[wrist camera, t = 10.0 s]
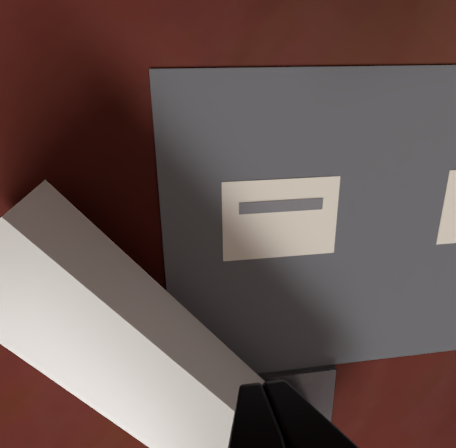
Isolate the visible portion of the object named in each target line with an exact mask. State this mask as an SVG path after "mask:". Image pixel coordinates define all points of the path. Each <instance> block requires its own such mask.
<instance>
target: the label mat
mask: <svg viewBox="0 0 456 448" xmlns="http://www.w3.org/2000/svg"><path fill="white" fill-rule="evenodd" d="M149 75H150V88H151V100H152V113H153V126H154V138H155V151H156V164H157V177H158V189H159V202H160V215H161V227H162V240H163V253H164V265H165V278H166V291H167V292H168V293H169V294H170V295H171V296H173V297H174V298H175V299H176V300H177V301H178V302H179V303H180V304H181V305H182V306H183V307H185V308H186V309H187V310H188V311H189V312H190V313H191V314H192V315H193V316H194V317H195V318H196V319H198V320H199V321H200V322H201V323H202V324H203V325H204V326H205V327H206V328H207V329H208V330H210V331H211V332H212V333H213V334H214V335H215V336H216V337H217V338H218V339H219V340H220V341H222V342H223V343H224V344H225V345H226V346H227V347H228V348H229V349H230V350H231V351H232V352H234V353H235V354H236V355H237V356H238V357H239V358H240V359H241V360H242V361H243V362H244V363H245V364H247V365H248V366H249V367H250V368H251V369H252V370H253V371H254V372H255V373H256V374H258V373H266V372H275V371H283V370H292V369H300V368H308V367H317V366H325V365H334V364H342V363H350V362H359V361H367V360H376V359H384V358H392V357H401V356H409V355H418V354H426V353H434V352H443V351H451V350H456V65H417V66H339V67H260V68H182V69H149Z"/></svg>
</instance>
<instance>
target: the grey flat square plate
mask: <svg viewBox="0 0 456 448" xmlns="http://www.w3.org/2000/svg"><path fill="white" fill-rule="evenodd" d="M257 375H259V376H260V377H261V378H262V379H263V380H264V381H265V382H266V381H273V380H285V381H286V382H288V383H289V384H290V385H291V386H292V387H293V388H294V389H295V390H296V391H297V392H298V393H300V394H301V395H302V396H303V397H304V398H305V399H306V400H307V401H308V402H309V403H311V404H312V405H313V406H314V407H315V408H316V409H317V410H318V411H319V412H320V413H321V414H323V415H324V416H325V417H326V418H327V419H328V420H329V421H330V422H331V418H332V408H333V398H334V388H335V378H336V368H335V367H334V365H325V366H317V367H308V368H300V369H292V370H283V371H275V372H266V373H258V374H257Z"/></svg>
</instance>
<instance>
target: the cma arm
mask: <svg viewBox="0 0 456 448" xmlns="http://www.w3.org/2000/svg"><path fill="white" fill-rule="evenodd" d="M0 344H1V345H3V346H4V347H6V348H7V349H9V350H10V351H11V352H13V353H14V354H16V355H17V356H19V357H20V358H22V359H23V360H24V361H26V362H27V363H29V364H30V365H32V366H33V367H34V368H36V369H37V370H39V371H40V372H42V373H43V374H44V375H46V376H47V377H49V378H50V379H52V380H53V381H55V382H56V383H57V384H59V385H60V386H62V387H63V388H65V389H66V390H67V391H69V392H70V393H72V394H73V395H75V396H76V397H78V398H79V399H80V400H82V401H83V402H85V403H86V404H88V405H89V406H90V407H92V408H93V409H95V410H96V411H98V412H99V413H100V414H102V415H103V416H105V417H106V418H108V419H109V420H111V421H112V422H113V423H115V424H116V425H118V426H119V427H121V428H122V429H123V430H125V431H126V432H128V433H129V434H131V435H132V436H133V437H135V438H136V439H138V440H139V441H141V442H142V443H144V444H145V445H146V446H148V447H149V448H228V444H229V438H230V433H231V428H232V422H233V417H234V412H235V406H236V401H237V396H238V390H239V387H240V385H242V384H249V383H257V382H258V383H261V384H263V383H264V382H265V381H264V380H263V379H262V378H261V377H260V376H259V375H257V374H256V373H255V372H254V371H253V370H252V369H251V368H250V367H249V366H248V365H247V364H245V363H244V362H243V361H242V360H241V359H240V358H239V357H238V356H237V355H236V354H235V353H234V352H232V351H231V350H230V349H229V348H228V347H227V346H226V345H225V344H224V343H223V342H222V341H220V340H219V339H218V338H217V337H216V336H215V335H214V334H213V333H212V332H211V331H210V330H208V329H207V328H206V327H205V326H204V325H203V324H202V323H201V322H200V321H199V320H198V319H196V318H195V317H194V316H193V315H192V314H191V313H190V312H189V311H188V310H187V309H186V308H185V307H183V306H182V305H181V304H180V303H179V302H178V301H177V300H176V299H175V298H174V297H173V296H171V295H170V294H169V293H168V292H167V291H166V290H165V289H164V288H163V287H162V286H161V285H159V284H158V283H157V282H156V281H155V280H154V279H153V278H152V277H151V276H150V275H149V274H148V273H146V272H145V271H144V270H143V269H142V268H141V267H140V266H139V265H138V264H137V263H136V262H134V261H133V260H132V259H131V258H130V257H129V256H128V255H127V254H126V253H125V252H124V251H122V250H121V249H120V248H119V247H118V246H117V245H116V244H115V243H114V242H113V241H112V240H110V239H109V238H108V237H107V236H106V235H105V234H104V233H103V232H102V231H101V230H100V229H99V228H97V227H96V226H95V225H94V224H93V223H92V222H91V221H90V220H89V219H88V218H87V217H85V216H84V215H83V214H82V213H81V212H80V211H79V210H78V209H77V208H76V207H75V206H73V205H72V204H71V203H70V202H69V201H68V200H67V199H66V198H65V197H64V196H63V195H61V194H60V193H59V192H58V191H57V190H56V189H55V188H54V187H53V186H52V185H51V184H50V183H48V182H47V181H46V180H44V181H43V182H42V183H41V184H40V185H38V186H37V187H36V188H35V189H34V190H32V191H31V192H30V193H29V194H28V195H27V196H25V197H24V198H23V199H22V200H21V201H20V202H18V203H17V204H16V205H15V206H14V207H13V208H11V209H10V210H9V211H8V212H7V213H5V214H4V215H3V216H2V217H1V218H0Z"/></svg>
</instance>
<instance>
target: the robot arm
mask: <svg viewBox="0 0 456 448" xmlns="http://www.w3.org/2000/svg"><path fill="white" fill-rule="evenodd" d="M228 448H359V447H358V446H356V445H355V444H354V443H353V442H352V441H351V440H350V439H349V438H348V437H347V436H346V435H344V434H343V433H342V432H341V431H340V430H339V429H338V428H337V427H336V426H335V425H334V424H332V423H331V422H330V421H329V420H328V419H327V418H326V417H325V416H324V415H323V414H321V413H320V412H319V411H318V410H317V409H316V408H315V407H314V406H313V405H312V404H311V403H309V402H308V401H307V400H306V399H305V398H304V397H303V396H302V395H301V394H300V393H298V392H297V391H296V390H295V389H294V388H293V387H292V386H291V385H290V384H289V383H288V382H286V381H285V380H273V381H266V382H264V383H263V384H261V383H258V382H257V383H249V384H242V385H240V387H239V390H238V396H237V401H236V406H235V412H234V417H233V422H232V428H231V433H230V438H229V444H228Z"/></svg>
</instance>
